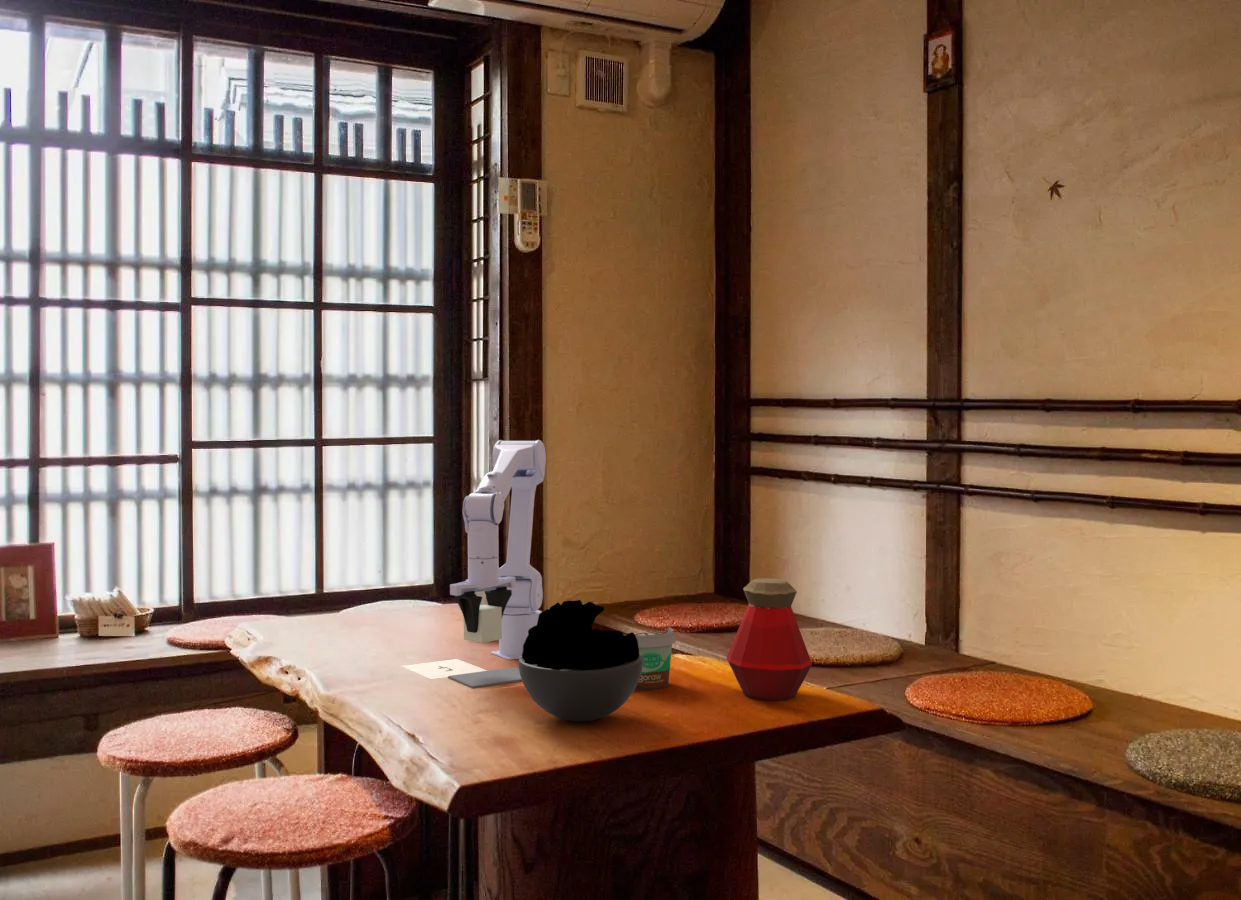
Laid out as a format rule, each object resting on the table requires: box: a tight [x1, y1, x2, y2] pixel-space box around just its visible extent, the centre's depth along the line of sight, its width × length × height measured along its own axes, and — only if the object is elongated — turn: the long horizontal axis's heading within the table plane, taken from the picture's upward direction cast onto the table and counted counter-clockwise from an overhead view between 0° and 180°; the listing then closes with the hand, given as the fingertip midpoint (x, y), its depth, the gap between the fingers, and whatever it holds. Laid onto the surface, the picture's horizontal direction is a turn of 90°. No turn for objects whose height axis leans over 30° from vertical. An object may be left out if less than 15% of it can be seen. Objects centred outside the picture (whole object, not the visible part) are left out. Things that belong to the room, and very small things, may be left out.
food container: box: [623, 626, 677, 692], centre depth 209 cm, size 12×6×10 cm, turn 118°
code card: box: [401, 658, 488, 680], centre depth 225 cm, size 12×14×1 cm
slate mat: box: [447, 666, 522, 689], centre depth 216 cm, size 14×10×1 cm
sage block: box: [463, 605, 502, 644], centre depth 217 cm, size 5×5×6 cm
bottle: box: [726, 577, 813, 702], centre depth 203 cm, size 16×14×20 cm
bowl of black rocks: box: [517, 599, 643, 723], centre depth 186 cm, size 20×20×19 cm
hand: (483, 629), depth 217 cm, fingers closed on sage block, 5 cm apart
